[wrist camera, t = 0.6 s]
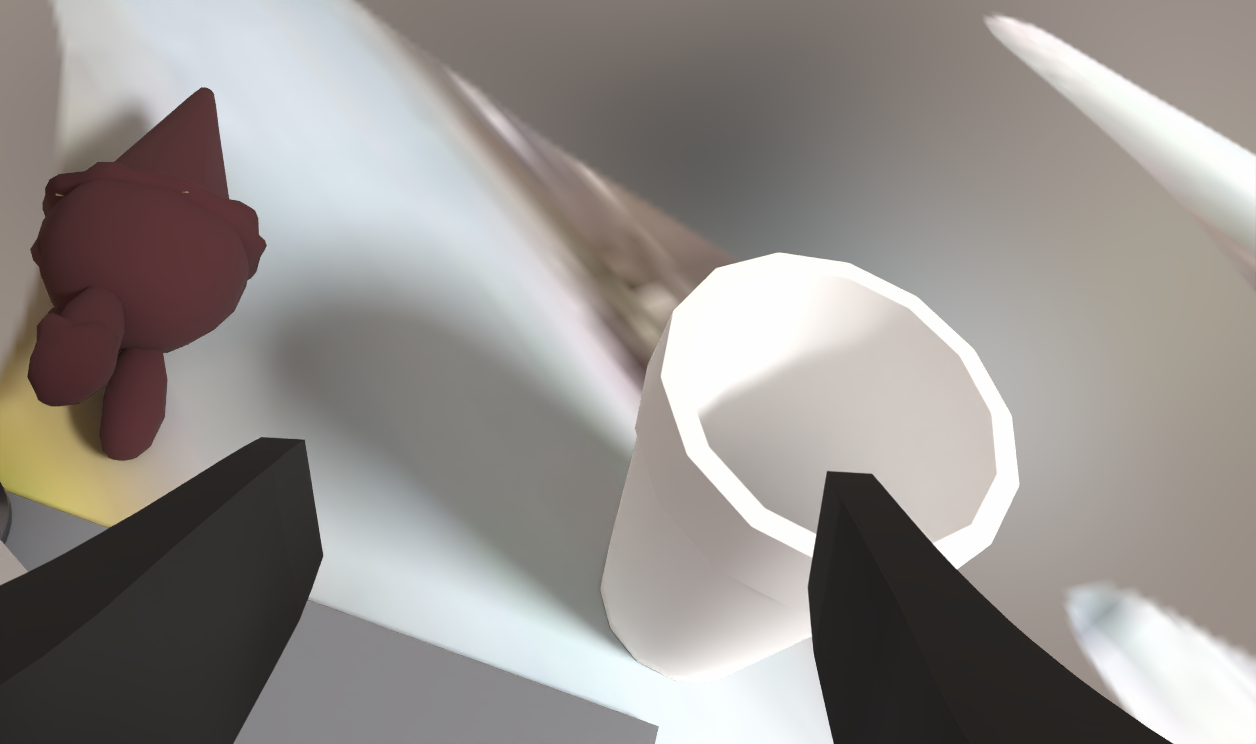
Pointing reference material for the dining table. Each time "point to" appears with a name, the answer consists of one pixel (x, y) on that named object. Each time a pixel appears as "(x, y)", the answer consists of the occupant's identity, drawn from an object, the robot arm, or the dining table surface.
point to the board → (372, 677)
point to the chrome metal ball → (5, 515)
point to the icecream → (139, 271)
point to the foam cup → (790, 454)
